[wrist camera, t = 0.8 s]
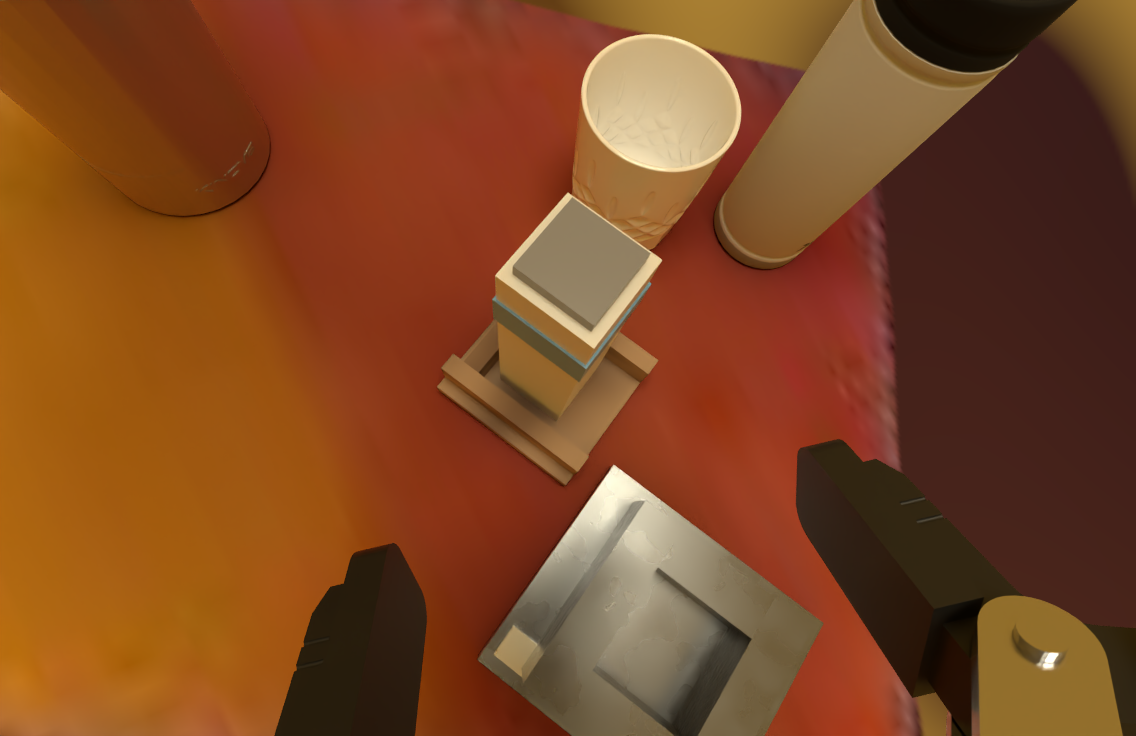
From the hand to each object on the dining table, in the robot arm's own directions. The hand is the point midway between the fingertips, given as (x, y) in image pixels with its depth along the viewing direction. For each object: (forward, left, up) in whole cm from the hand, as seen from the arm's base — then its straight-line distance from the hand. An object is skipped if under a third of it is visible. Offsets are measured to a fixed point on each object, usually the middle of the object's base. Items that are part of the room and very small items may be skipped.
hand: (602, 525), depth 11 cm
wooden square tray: (-5, +7, -20) cm, 22 cm away
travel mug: (0, +24, -21) cm, 31 cm away
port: (+8, -1, -20) cm, 22 cm away
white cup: (-8, +19, -21) cm, 29 cm away
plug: (-5, +7, -19) cm, 21 cm away
